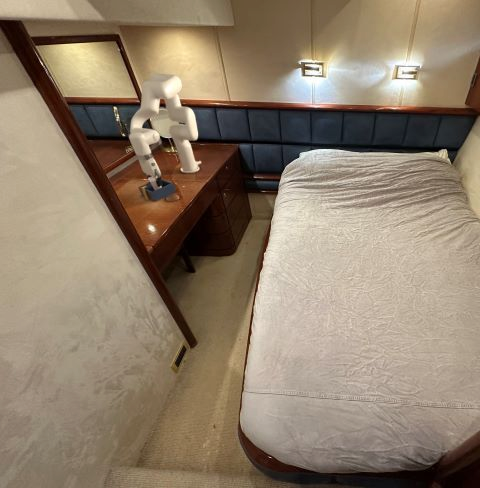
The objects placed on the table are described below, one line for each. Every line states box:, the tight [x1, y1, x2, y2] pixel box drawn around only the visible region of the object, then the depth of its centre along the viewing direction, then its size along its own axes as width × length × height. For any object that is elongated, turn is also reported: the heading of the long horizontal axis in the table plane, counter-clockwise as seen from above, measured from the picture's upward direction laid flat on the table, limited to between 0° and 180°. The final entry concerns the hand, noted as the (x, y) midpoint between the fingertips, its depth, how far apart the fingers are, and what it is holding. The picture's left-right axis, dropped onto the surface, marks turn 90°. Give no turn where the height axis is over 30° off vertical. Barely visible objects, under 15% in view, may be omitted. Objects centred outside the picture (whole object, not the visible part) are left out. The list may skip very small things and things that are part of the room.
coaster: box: [165, 194, 180, 203], centre depth 161 cm, size 8×8×1 cm
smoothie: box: [147, 176, 162, 190], centre depth 160 cm, size 6×6×14 cm
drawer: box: [137, 178, 177, 202], centre depth 161 cm, size 16×12×8 cm
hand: (156, 184), depth 161 cm, fingers closed on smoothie, 6 cm apart
